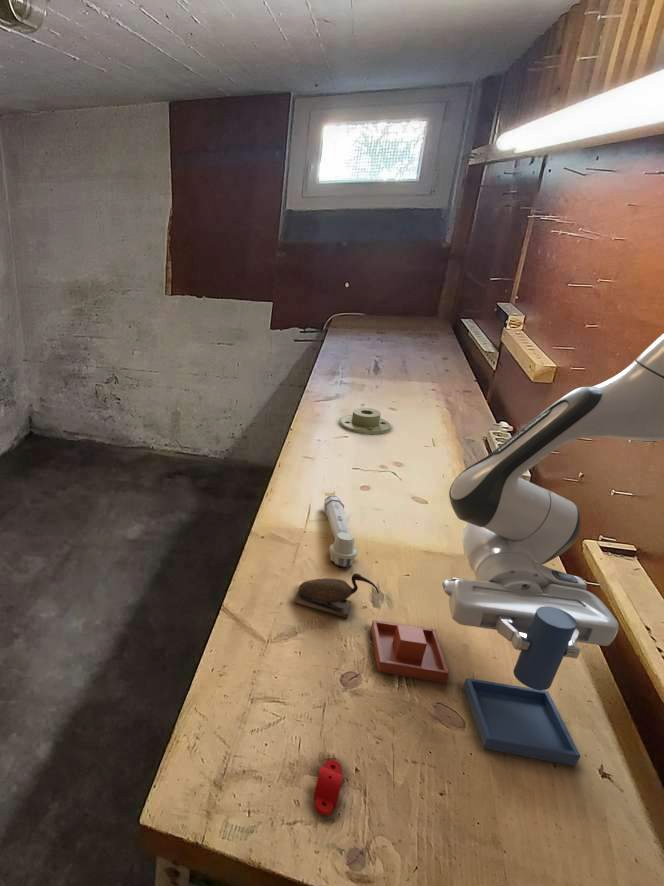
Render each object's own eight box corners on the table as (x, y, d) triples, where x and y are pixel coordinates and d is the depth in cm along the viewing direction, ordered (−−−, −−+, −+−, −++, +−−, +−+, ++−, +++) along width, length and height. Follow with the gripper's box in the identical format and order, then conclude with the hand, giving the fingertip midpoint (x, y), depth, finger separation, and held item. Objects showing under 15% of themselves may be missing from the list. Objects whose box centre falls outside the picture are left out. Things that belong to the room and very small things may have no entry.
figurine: (374, 611, 105) (382, 573, 101) (371, 625, 102) (379, 587, 98) (299, 589, 112) (304, 553, 108) (293, 602, 108) (298, 565, 104)
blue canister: (543, 669, 80) (568, 609, 75) (556, 693, 76) (583, 631, 71) (508, 663, 81) (531, 603, 76) (519, 686, 77) (543, 625, 72)
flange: (384, 404, 189) (338, 404, 191) (397, 421, 176) (348, 420, 178) (382, 417, 192) (336, 416, 193) (395, 434, 178) (346, 433, 180)
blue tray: (544, 700, 86) (548, 691, 85) (575, 766, 76) (580, 755, 75) (462, 687, 89) (466, 677, 88) (483, 748, 79) (487, 738, 78)
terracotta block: (417, 645, 96) (422, 627, 95) (422, 662, 93) (427, 644, 91) (392, 641, 97) (396, 623, 96) (396, 658, 94) (400, 640, 92)
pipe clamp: (333, 819, 71) (335, 809, 70) (310, 809, 72) (312, 798, 71) (344, 767, 77) (346, 757, 76) (323, 759, 78) (325, 748, 77)
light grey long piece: (344, 495, 137) (361, 539, 113) (341, 520, 139) (357, 568, 116) (322, 493, 138) (334, 536, 115) (319, 518, 140) (330, 565, 117)
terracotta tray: (432, 638, 98) (435, 629, 98) (446, 682, 90) (449, 673, 89) (370, 628, 101) (372, 619, 100) (377, 671, 92) (380, 661, 91)
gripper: (444, 560, 88) (467, 619, 76) (595, 579, 83) (646, 645, 71) (435, 592, 91) (456, 654, 79) (581, 612, 86) (627, 681, 74)
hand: (547, 650), depth 75 cm, fingers closed on blue canister, 4 cm apart
